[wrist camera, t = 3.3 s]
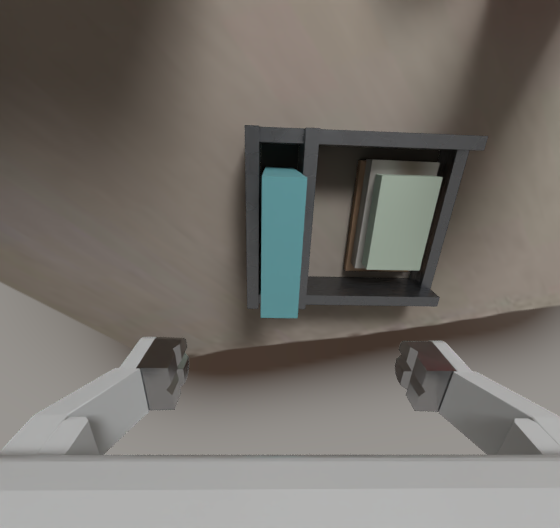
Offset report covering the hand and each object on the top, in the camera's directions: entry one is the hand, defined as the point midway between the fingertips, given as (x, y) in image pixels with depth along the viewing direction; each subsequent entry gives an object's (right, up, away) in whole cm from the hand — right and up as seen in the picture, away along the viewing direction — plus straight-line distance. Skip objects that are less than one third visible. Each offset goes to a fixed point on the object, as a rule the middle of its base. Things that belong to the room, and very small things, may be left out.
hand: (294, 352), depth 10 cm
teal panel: (-1, +9, +22) cm, 23 cm away
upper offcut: (+12, +8, +19) cm, 24 cm away
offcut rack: (+7, +9, +22) cm, 25 cm away
